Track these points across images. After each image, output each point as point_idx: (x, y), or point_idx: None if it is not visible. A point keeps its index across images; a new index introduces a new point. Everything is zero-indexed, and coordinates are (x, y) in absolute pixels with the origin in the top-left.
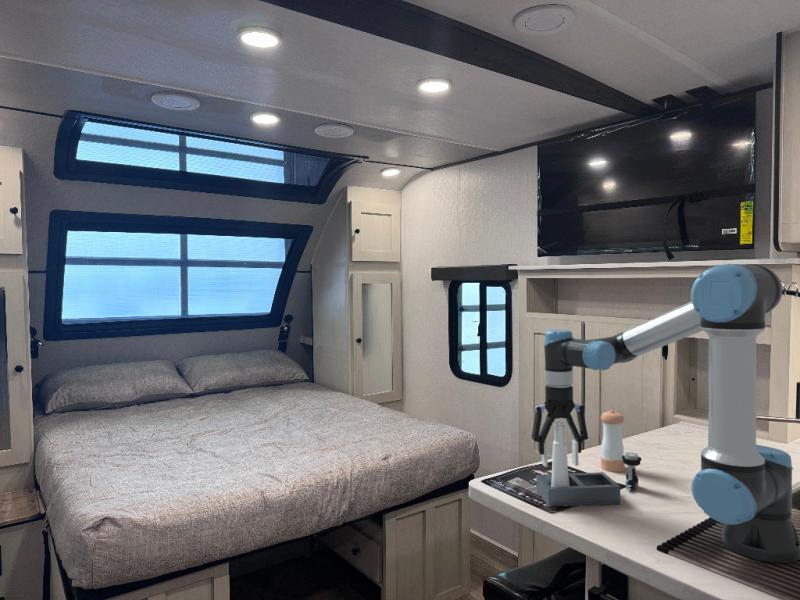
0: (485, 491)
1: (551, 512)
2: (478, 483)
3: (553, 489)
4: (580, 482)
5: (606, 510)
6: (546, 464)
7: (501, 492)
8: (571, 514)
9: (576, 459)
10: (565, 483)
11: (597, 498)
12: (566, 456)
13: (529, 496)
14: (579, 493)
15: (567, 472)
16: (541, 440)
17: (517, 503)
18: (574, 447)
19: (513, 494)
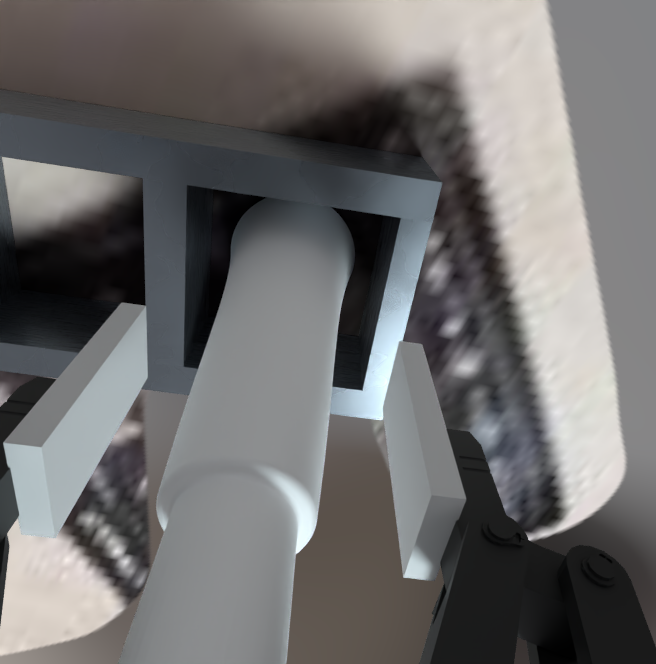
0: (618, 423)
1: (443, 83)
2: (589, 502)
3: (402, 176)
4: (153, 243)
5: (83, 15)
6: (410, 353)
7: (551, 396)
8: (336, 16)
9: (117, 332)
10: (271, 244)
11: (96, 112)
12: (210, 365)
13: (442, 321)
14: (213, 137)
15: (234, 289)
16: (516, 548)
17: (557, 255)
18: (78, 429)
19: (508, 362)
